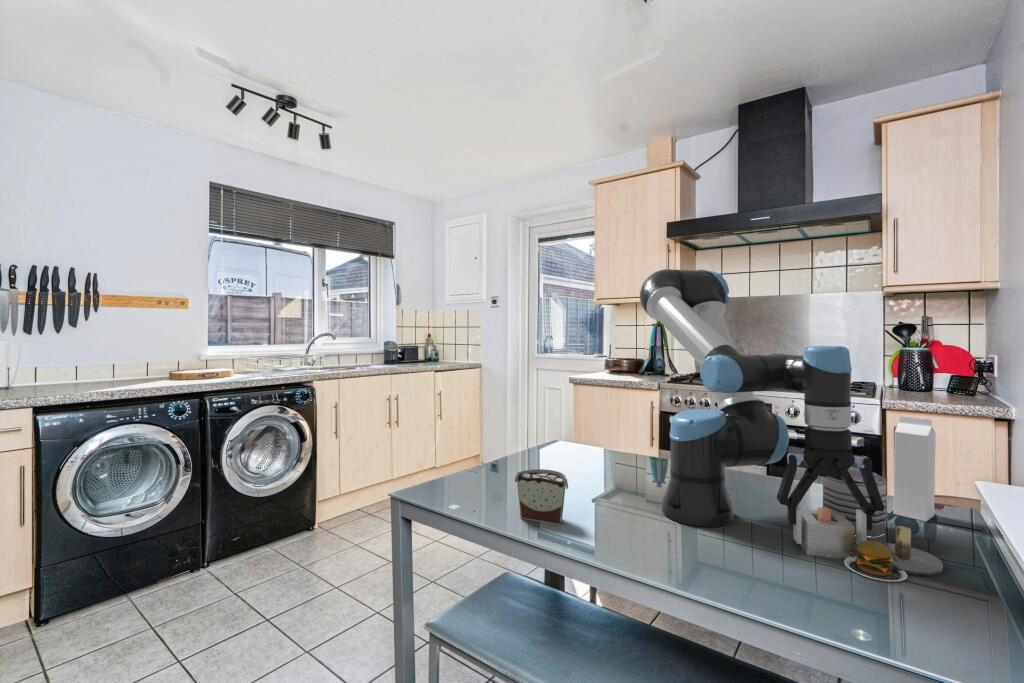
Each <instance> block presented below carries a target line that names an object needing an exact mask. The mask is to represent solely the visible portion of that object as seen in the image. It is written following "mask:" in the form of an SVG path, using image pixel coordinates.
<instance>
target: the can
mask: <svg viewBox="0 0 1024 683" xmlns="http://www.w3.org/2000/svg"><path fill="white" fill-rule="evenodd" d="M848 472H849V474H850V475H851V477H852V478H853V480H854V482H855V483H856V485H857V486H858V488H859V490H860V491H861V493H862V494H863V496H864V497H865V499H866V500H867V502H868V503H871V501H870V498H869V495H868V492H867V489H866V487H865V484H864V481H863V478H862V475H861V472H860V468H858V467H857V468H856V467H852V466H851V467H850V468H849V469H848ZM872 473H873V476H874V479H875V482H876V485H877V488H878V491H879V493H880V496H881V499H882V502H883V505H884V510H883V511H876V512H875V514H874V515H872V530H867V536H871V537H877V536H880V535H882V534H885V535H886V529H887V528H886V525H887V524H886V523H887V522H886V521H887V482H888V481H889V479H887V478H885V477H883V476H881V475H880V474H877V473H876V472H873V471H872ZM822 508H827V509H830V510H831V512H840V513H841V514H842V515H843V516H844V517H845V518H846V519H847V520H848V521H849V522H850V523H851V524H852V525H853V526H854V527H855V535H856V509H859V510H862V508H861V507H860V506H859V504H858V502H857V501H856V499H855V498H854V496H853V495H852V493H851V492H850V490H849V489H848V487H847V486H846V484H845V483H844V481H843V480H842V478H841V477H839V478H835V477H831V476H828V477H822Z"/></svg>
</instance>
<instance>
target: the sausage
mask: <svg viewBox="0 0 1024 683" xmlns="http://www.w3.org/2000/svg"><path fill="white" fill-rule="evenodd" d="M817 511H818V515H817V520H822V521H831V510H830V509H827V508H823V507H818V508H817Z"/></svg>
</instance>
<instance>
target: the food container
mask: <svg viewBox="0 0 1024 683" xmlns="http://www.w3.org/2000/svg"><path fill="white" fill-rule="evenodd" d="M514 477H515V478H514V483H517V493H518V504H519V505H518V506H519V517H520V519H522V520H523V519H524V520H528V521H534V522H540V523H545V524H552V525H557V526H561V525H562V524H563V513H564V506H565V504H564V503H565V494H566V490H568V489H569V483H568V482H569V481H568V479H567V476H566V475H565V473H562V472H560V471H556V470H551V469H544V468H543V469H542V468H541V469H540V468H539V469H537V468H536V469H526V470H520V471H518V472H516V475H515V476H514Z"/></svg>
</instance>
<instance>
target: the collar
mask: <svg viewBox="0 0 1024 683" xmlns="http://www.w3.org/2000/svg"><path fill="white" fill-rule="evenodd" d="M800 509H801V530H802V544H801V545H800V546H801V547H803V548H802V549H803V551H804V550H805V551H804V552H805V554H806V555H808V556H813V557H814V556H816V555H817V556H816V557H823V556H829V557H828V558H832V557H839V558H838V559H841V558H848V557H852V558H854V556H856V549H855V548H856V547H855V542H856V541H855V540H856V537H855V527H854V526H853V525H852V524H851V523H850V522H849V521H848V520H847V519H846V518H845V517H844V516H843V515H842V514H841V513H840V512H831V521H822V520H817V515H818V509H816V510H815V509H804V508H800Z"/></svg>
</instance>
